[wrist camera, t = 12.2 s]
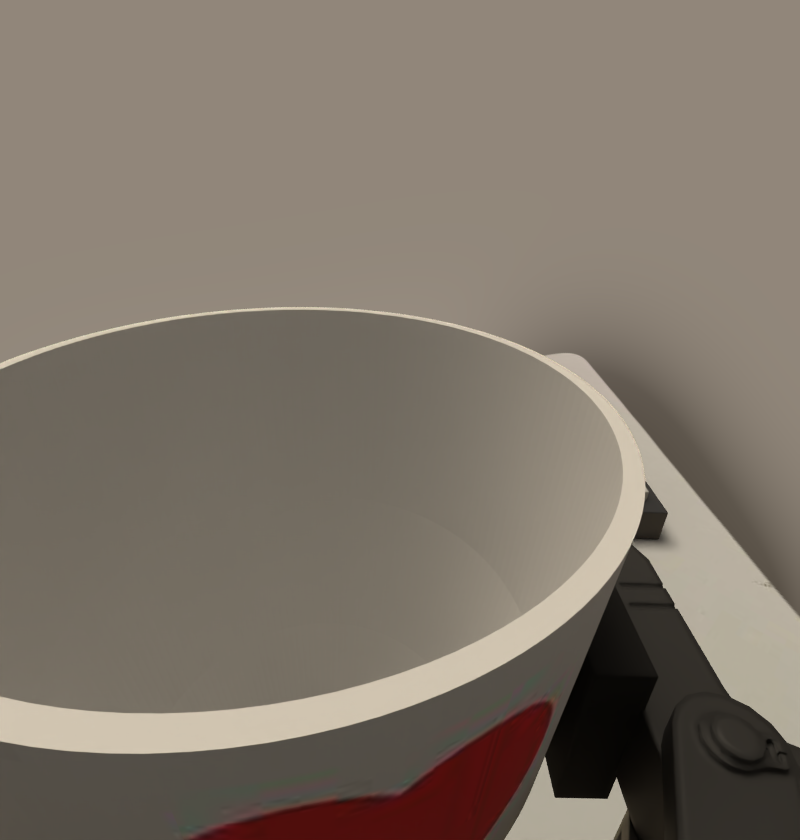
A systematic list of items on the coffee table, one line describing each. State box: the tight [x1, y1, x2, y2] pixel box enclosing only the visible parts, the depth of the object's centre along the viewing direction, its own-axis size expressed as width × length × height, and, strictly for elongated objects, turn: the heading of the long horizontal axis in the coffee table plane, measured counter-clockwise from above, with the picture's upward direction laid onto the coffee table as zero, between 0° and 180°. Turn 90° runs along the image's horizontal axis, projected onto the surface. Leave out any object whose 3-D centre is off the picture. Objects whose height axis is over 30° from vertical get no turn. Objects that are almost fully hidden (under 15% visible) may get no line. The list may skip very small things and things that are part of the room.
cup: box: [0, 307, 645, 840], centre depth 9 cm, size 8×8×10 cm
